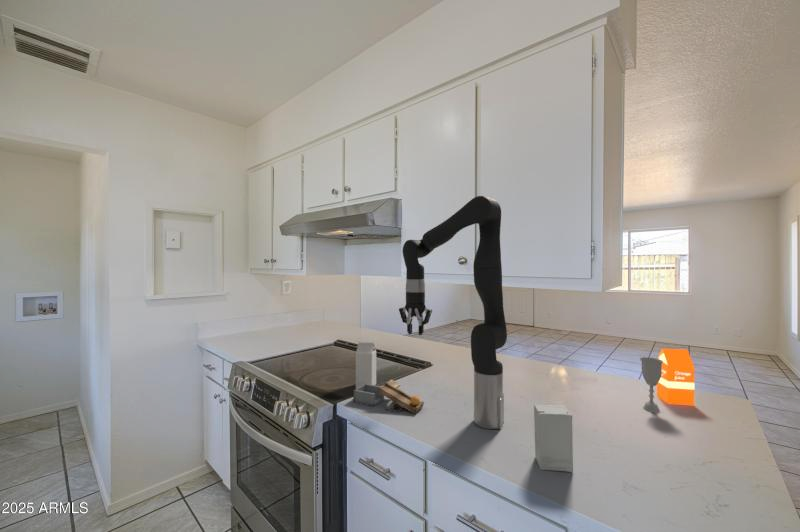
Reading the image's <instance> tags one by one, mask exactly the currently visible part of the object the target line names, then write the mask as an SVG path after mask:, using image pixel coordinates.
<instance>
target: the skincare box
mask: <svg viewBox="0 0 800 532" xmlns="http://www.w3.org/2000/svg"><path fill="white" fill-rule="evenodd" d="M533 414H534V415H533V416H534V417H533V418H534V419H533V420H534V421H533V422H534V423H533V424H534V456H535V459H536V462H537V464H538V465H537V466H538V467H539V469H540V471H541V470H543V471H557V472H569V473H570V472H571V473H573V472H574V452H573V451H574V448H573V447H574V446H573V443H574V442H573V441H574V440H573V415H572V414H571V412H570V410H569V409H567V407H566V406H565V405H560V404H559V405H549V404H533Z"/></svg>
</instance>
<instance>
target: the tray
mask: <svg viewBox="0 0 800 532" xmlns="http://www.w3.org/2000/svg"><path fill="white" fill-rule="evenodd" d="M378 387H382V385H381V386H379V385H370V384H363V385H361V386H360V387H358V388H356V387H355V389H353V392H352V393H353V396H352V397H353V403H356V402H358V403H357V404H361V403H362V404H361V405H365V404H368V405H367V406H370V405H372V406H371V407H375V406H376V405H378V404H379V403H380V402H382V401H383V400H385V396H384V395H382V394H380V393H379V392H377V390H378ZM382 399H383V400H382ZM381 400H382V401H381ZM379 401H380V402H379ZM378 402H379V403H378ZM377 403H378V404H377ZM375 404H376V405H375ZM374 405H375V406H374Z"/></svg>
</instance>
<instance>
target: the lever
mask: <svg viewBox="0 0 800 532" xmlns="http://www.w3.org/2000/svg"><path fill="white" fill-rule="evenodd" d="M400 386H401V383H399V382H397V381H396V380H394V379H390V380H388V381H387V382H386V381H385V383H384V384H383V385H381V387H378V390H377V392H379V393H380V394H382V395H384V398H387V399H389V400H390V401H391V402H393V401H394V402H395V403H397V404H399V405H400V406H402V407H403V409H405V410H407V411H409V412H410V413H413V414H417V413H418V412H419V411H420V410H421V409H422V408H423V407H424V404H425V401H423V400H421V401H420V403H419V405H418V406H413V405H412V404H411V402H410V400H411V398H412V397H413V396H411V395H409V394H408V393H406V392H404V391H402V390H401V389H399V388H400Z"/></svg>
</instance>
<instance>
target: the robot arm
mask: <svg viewBox="0 0 800 532" xmlns="http://www.w3.org/2000/svg"><path fill="white" fill-rule="evenodd" d="M501 223H502V208H501V205H500V203H499V202H498V201H497V200H496V199H494V198H491V197H488V196H485V195H477V196H475V197H473V198H472V199H471V200H470V201H468V202H467V203H466V204H464V205H463V206H462V207H461V208H459V209H458V210H457V211H456V212H455V213H453V214H452V215H451V216H450V217H449V218H447V219H446V220H444V221H443V222H441V223H440V224H438V225H436V226H435V227H432V228H430V229H429V230H428V231H426V232H425V233H424V234H423V235H422V238H421V239H418V240H417V239H408V240H406V241H405V242H404V243H403V246H402V255H403V257H402V258H403V261H404V265H405V268H406V276H405V277H406V280H405V305H404V307H400V308H399V309H398V311H399V314H400V318H401V321H402V323H403V324H404V323H405V324H406V328H407V329H406V332H407V333H408V335H412V334H413V320H414V317H415V318H416V320H417V322H418V336H422V335H423V334H424V333H425V332H424V329H425V328H424V327H425V325H427V324H429V322H430V318H431V315H432V312H433V309H429V308H428V307H426V291H425V290H426V284H425V267H424V265H423V264H422V263H420V262H419V261H420V260H419V259H421V258H425V257H426V256H428V255H430V254H431V253H432V252H433V251H434V250H435V249H436V248H438V247H441V246H442V245H444V244H446V243H447V242H449V241H451V240H452V239H453V238H454V237H455V235H457V233H459V232H460V231H461V230H463V229H464V228H467V227H469V226H472V225H475V224H477V225H478V230H479V242H478V247H477V250H476V253H475V257H474V260H473V283H474V287H475V290H476V292H477V294H478V296H479V299H480V302H482V306H483V317H484V322H483V323H478V324H476V325H474V326H473V328H472V330H471V333H470V354H471V362H472V364H473V422H474V424H475V425H476V426H478V427H480V428H482V429H486V430H496V429H497V430H502V427H503V425H504V423H505V394H504V389H503V387H504V385H503V381H504V380H503V378H504V377H503V375H504V374H503V372H504V371H503V369H504V368H503V367H504V365H503V363H502V362H501V361H499V360H497V350H498V349H501V348H502V347H504V346H505V345H506V342H507V340H508V330H507V325H506V324H507V323H506V316H505V311H504V298H503V295H504V294H503V293H504V292H503V271H502V270H503V269H502V268H503V267H502V255H501V253H502V251H501V227H502V225H501ZM423 314H425V316H424V315H423Z"/></svg>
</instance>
